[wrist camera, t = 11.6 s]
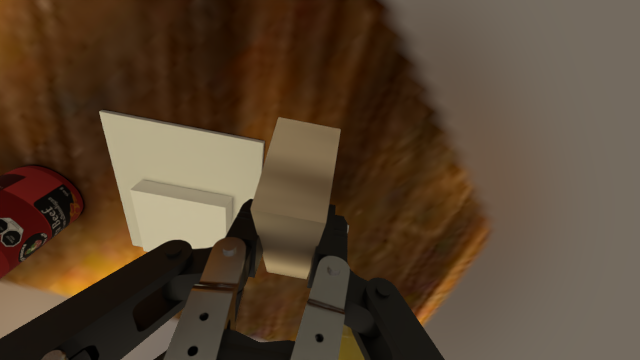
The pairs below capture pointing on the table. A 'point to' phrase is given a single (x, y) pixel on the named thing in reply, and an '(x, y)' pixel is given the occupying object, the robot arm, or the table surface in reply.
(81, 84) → the table surface
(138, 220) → the tile
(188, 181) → the mat
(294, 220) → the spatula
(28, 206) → the canned food
